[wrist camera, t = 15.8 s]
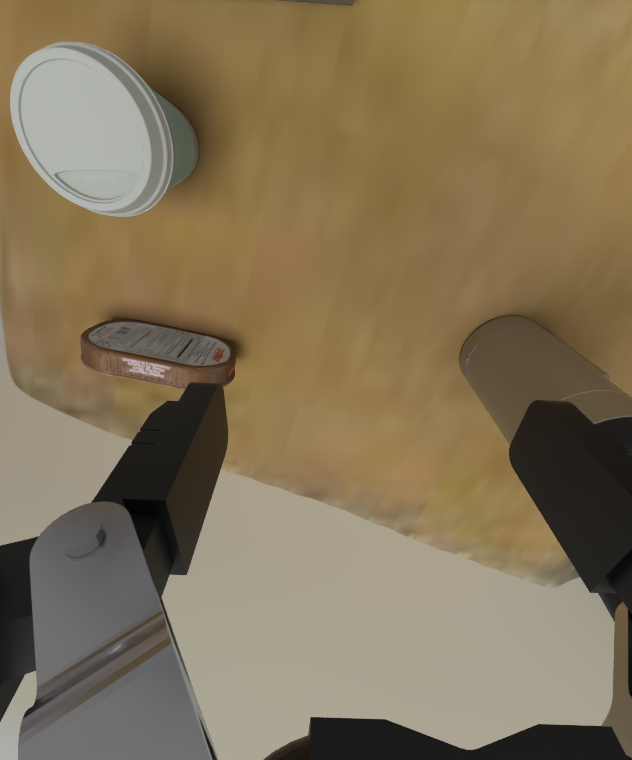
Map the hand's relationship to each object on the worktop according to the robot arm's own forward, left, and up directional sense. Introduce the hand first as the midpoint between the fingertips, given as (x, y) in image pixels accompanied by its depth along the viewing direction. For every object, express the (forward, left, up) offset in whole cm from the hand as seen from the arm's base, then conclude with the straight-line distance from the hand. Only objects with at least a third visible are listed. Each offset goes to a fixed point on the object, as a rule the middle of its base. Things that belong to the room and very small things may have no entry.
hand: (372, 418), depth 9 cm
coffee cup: (+15, -6, -28) cm, 33 cm away
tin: (+17, +12, -28) cm, 35 cm away
